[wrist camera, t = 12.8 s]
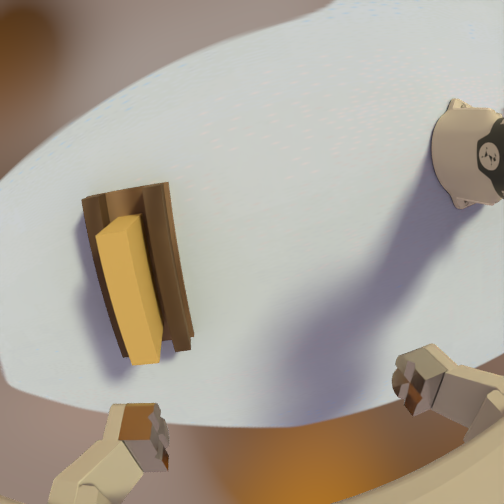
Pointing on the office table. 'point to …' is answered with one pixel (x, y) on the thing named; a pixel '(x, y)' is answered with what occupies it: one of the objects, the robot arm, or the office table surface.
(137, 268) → the door panel
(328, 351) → the office table surface
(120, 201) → the sliding track
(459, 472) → the robot arm
